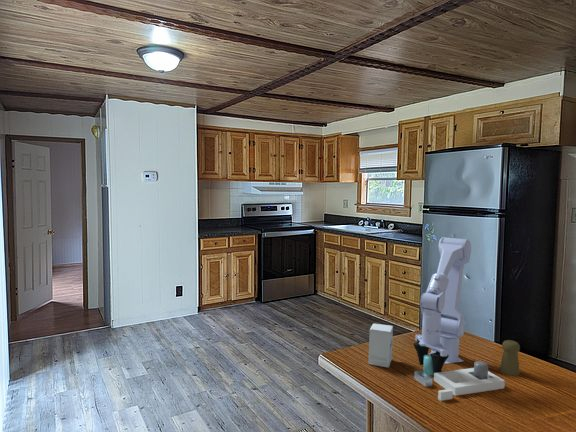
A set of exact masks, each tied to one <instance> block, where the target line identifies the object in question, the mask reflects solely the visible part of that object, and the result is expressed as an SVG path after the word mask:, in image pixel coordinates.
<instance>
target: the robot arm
mask: <svg viewBox="0 0 576 432" xmlns="http://www.w3.org/2000/svg"><path fill="white" fill-rule="evenodd" d="M438 251H439V256H440V258H439V263H438V267H437V270H436V273H433V274H431V278H430V281H429V283H428V284H427V285H428V286H427V288H426V291H425V292H423V293H422V294H421V296H420V302H419V306H420V310H421V315H422V320H421V321H422V322H421V324H422V325H421V326H422V327H421V334H415V336H414V339H415V341H416V342H413V347H414V349H415V351H416V355H417V359H418V363H419V365H420V366H424V355H431V358H432V362H433V373H438V372H442V371H443V370H442V369H443V367H444V365H445V364H453V363H459V362H460V363H461V362H464V360H463V359H462V358H460V357H459V353H460V352H459V351H460V338H462V337H463V336H464V334H465V331H466V316H465V315H464V314H463V313H462V312H461V310H459V303H460V296H461V295H460V294H461V288H462V279H463V273H464V269H465V268H464V267H465V264H466V265H467V264H468V263H469V262H470V260H471V252H472V243H471V241H470V240H469V238H454V237H444V236H442V237H441V238H440V239H439V242H438ZM430 349H431V350H430ZM429 350H430V351H431V352H429Z"/></svg>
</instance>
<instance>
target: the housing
mask: <svg viewBox="0 0 576 432" xmlns="http://www.w3.org/2000/svg"><path fill="white" fill-rule="evenodd" d="M433 381H434V382H435V383H436V384H438V385H439V386H441V387H442V388H444V390H446V389H451V390H452V391H453V395H454V396H463V395H470V394H475V393H481V392H482V393H483V392H488V391H496V390H500V389H501V390H503V389H505V381H506V380H505V379H503V378H501V377H499V376H498V375H496V374H494V373H492V372H491V371H489V370H488V379H483V380H479V379H478V378H476V377H474V367H470V368H463V369H462V368H461V369H454V370H446V371H441V372H438V373H434V376H433Z"/></svg>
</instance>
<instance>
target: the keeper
mask: <svg viewBox="0 0 576 432" xmlns="http://www.w3.org/2000/svg"><path fill="white" fill-rule="evenodd" d="M437 399H438V402H439V403H442V401H448V400H453V399H454V398H453V391H452V390H451V389H441V390H438V391H437Z"/></svg>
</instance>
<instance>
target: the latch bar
mask: <svg viewBox="0 0 576 432" xmlns="http://www.w3.org/2000/svg"><path fill="white" fill-rule="evenodd" d="M413 375H414V376H413V379H415V380H416V381H417V382H419V383H420V384H421V385H422V386H424V387H426V388H429V387H433V378H432V376H429V375H426V374H425V373H424V372H423V371H422V370H416V371H414V373H413Z"/></svg>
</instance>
